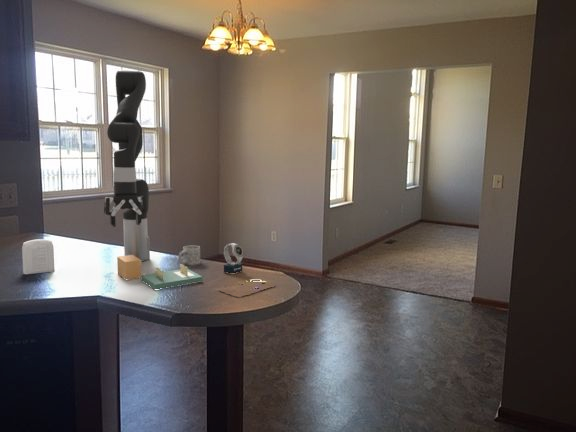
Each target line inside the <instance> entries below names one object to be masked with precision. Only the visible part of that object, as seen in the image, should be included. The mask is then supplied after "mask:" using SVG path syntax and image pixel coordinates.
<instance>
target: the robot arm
mask: <svg viewBox="0 0 576 432" xmlns="http://www.w3.org/2000/svg"><path fill="white" fill-rule="evenodd" d="M146 79H147V78H146V75H145V74H144V72H142V71H139V70H129V69H128V70H127V69H125V70H124V69H123V70H122V69H118V70H117V71H116V74H115V91H116V92H115V93H116V103H117V110H116V114H115V116H114V118H113V119H112V120H111V121H110V122H109V124H108V127H107V132H106V134H107V138H108V140H109V141H111V143H114V144H118V149H117V150H115V151H114V152H113V197H108V196H105V197H104V199H103V200H104V201H103V202H104V203H103V214H104V215H107V216H109V225H111V227H113V228H115V227H116V225H117V224H116V215H117V213H118V212H119V210H120V209H121V210H124V211H123V213H122V219H123V220H122V222H123V223H122V224H123V247H124V248H123V251H124V253H123V254H124V255H123V256H127V255H134V256H135V257H137V258H139V259H140V260H141V262H144V261H147V260H151V259H150V258H151V257H150V256H151V255H150V251H151V250H150V249H151V248H150V236H148V212H149V203H150V201H149V200H150V199H149V197H150V192H149V185H148V183H147V181H146V180H145V179H141V178H137V172H136V161H137V158H138V157H139V156H140V153H141V151H142V149H143V143H144V140H143V139H144V137H143V128H142V126H141V123H140V122H139V121H138V119H137V118H138V112H139V108H140V105H141V103H142V101H143V98H144V95H145V93H146V89H147V82H146V81H147V80H146ZM126 95H127V96H126ZM112 202H114V204H115V205H113V207H112V209H111V210H110V208H111V207H110V206H111V205H110V204H112Z"/></svg>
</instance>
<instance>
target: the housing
mask: <svg viewBox="0 0 576 432" xmlns="http://www.w3.org/2000/svg"><path fill="white" fill-rule="evenodd" d="M116 259H117V264H116V265H117V274H118V275H119V276H120V277H121V276H122V277H121V278H122V279H124V278H125V279H129V280H134V278H136V279H140V278H139V277H142V275H143V274H142V261H141V260H140V259H139V258H137V257H135V256H134V255H127V256H124V255H122V256H121V255H120V256H117V257H116ZM125 279H124V280H125Z"/></svg>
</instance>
